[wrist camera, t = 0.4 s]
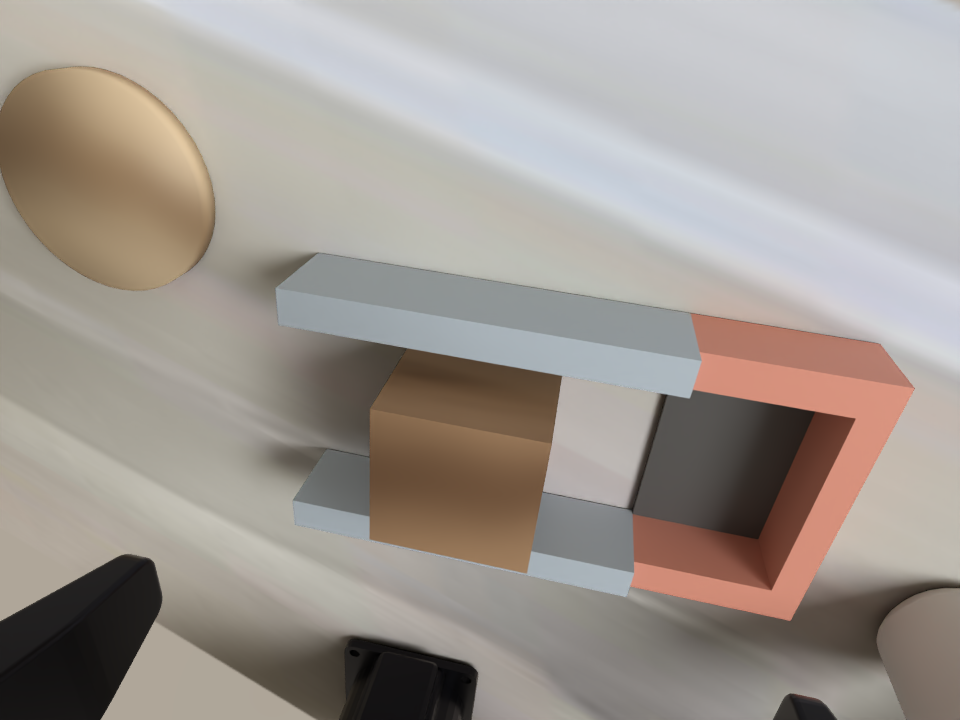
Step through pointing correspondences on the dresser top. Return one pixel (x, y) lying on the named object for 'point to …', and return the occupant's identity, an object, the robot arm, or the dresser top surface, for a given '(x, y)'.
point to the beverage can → (924, 654)
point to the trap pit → (761, 463)
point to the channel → (499, 340)
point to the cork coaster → (106, 177)
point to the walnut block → (461, 457)
